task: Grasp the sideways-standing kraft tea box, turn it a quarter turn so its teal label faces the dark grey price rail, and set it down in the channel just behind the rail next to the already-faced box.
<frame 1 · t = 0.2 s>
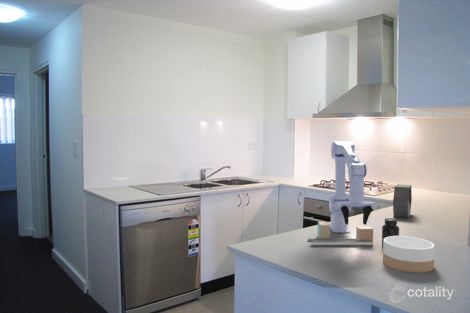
hand: (355, 224, 158), 10 cm above the counter, fingers open, 7 cm apart
kraft tea box: (323, 238, 172), on the counter
faced tea box: (364, 243, 165), on the counter
supplement bottle: (390, 247, 160), on the counter
bowl: (407, 264, 140), on the counter
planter: (402, 216, 219), on the counter
price rail: (341, 245, 162), on the counter
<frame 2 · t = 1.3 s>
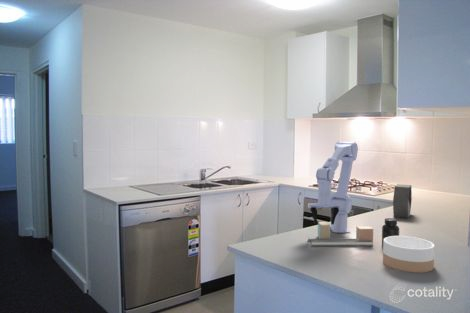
hand: (323, 223, 172), 7 cm above the counter, fingers open, 7 cm apart
nothing on the counter moved.
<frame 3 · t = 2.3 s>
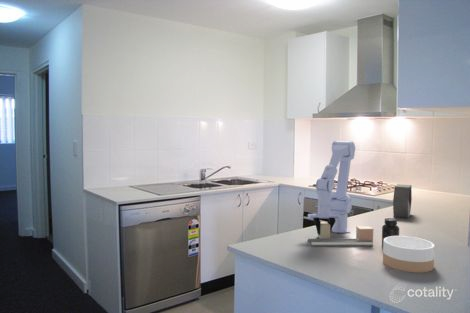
hand: (323, 234, 172), 2 cm above the counter, fingers closed on kraft tea box, 4 cm apart
kraft tea box: (323, 238, 172), on the counter, touching gripper
everything else where it was.
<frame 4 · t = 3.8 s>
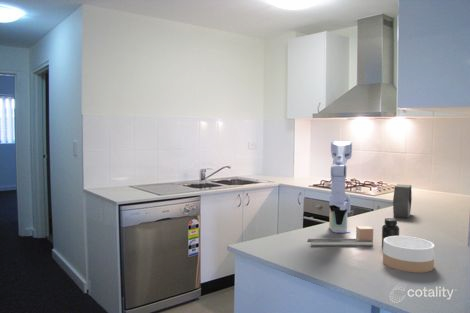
hand: (337, 223, 164), 9 cm above the counter, fingers closed on kraft tea box, 4 cm apart
kraft tea box: (337, 228, 165), point 7 cm above the counter, touching gripper
everything else where it was.
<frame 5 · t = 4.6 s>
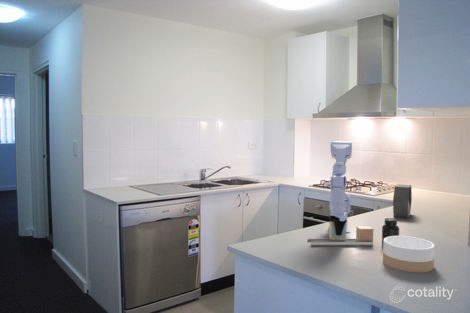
hand: (337, 233, 165), 4 cm above the counter, fingers closed on kraft tea box, 4 cm apart
kraft tea box: (337, 238, 165), point 2 cm above the counter, touching gripper
everything else where it was.
when the fingers open (3 cm above the counter, at t = 5.2 s): kraft tea box drops 1 cm, on the counter.
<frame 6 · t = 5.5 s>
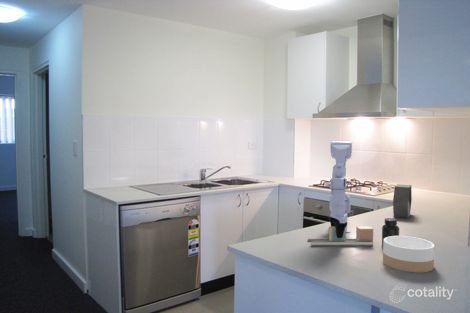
hand: (337, 235, 165), 3 cm above the counter, fingers open, 6 cm apart
kraft tea box: (337, 243, 165), on the counter
everything else where it was.
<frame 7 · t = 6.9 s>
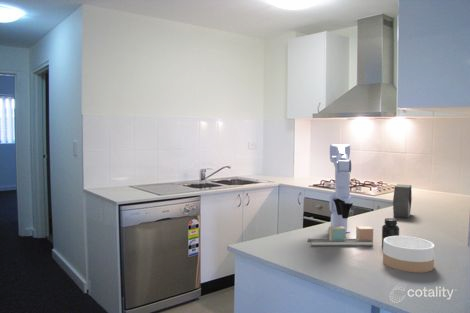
hand: (342, 216, 170), 10 cm above the counter, fingers open, 7 cm apart
nothing on the counter moved.
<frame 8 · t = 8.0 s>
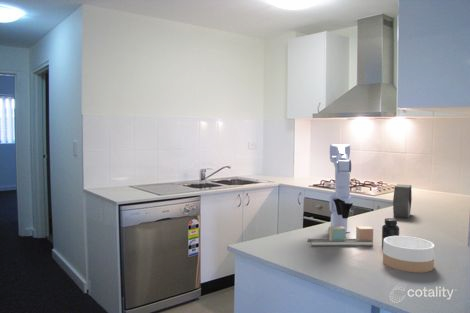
hand: (342, 216, 170), 10 cm above the counter, fingers open, 7 cm apart
nothing on the counter moved.
at the end: kraft tea box inside the target area (0.0 cm from its centre), on the counter; kraft tea box tilted 0°; the gripper is holding nothing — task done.
